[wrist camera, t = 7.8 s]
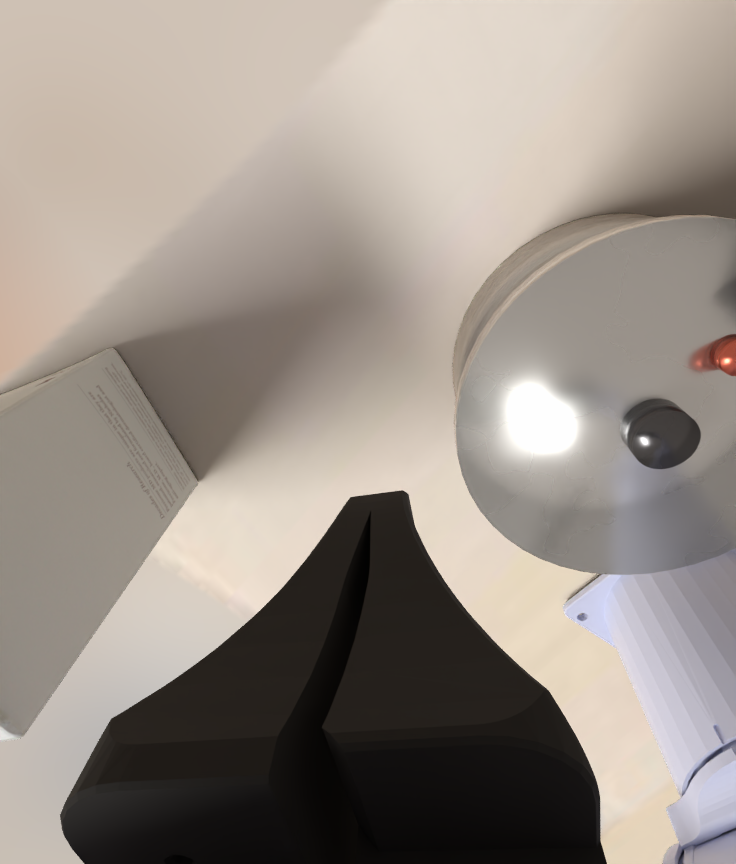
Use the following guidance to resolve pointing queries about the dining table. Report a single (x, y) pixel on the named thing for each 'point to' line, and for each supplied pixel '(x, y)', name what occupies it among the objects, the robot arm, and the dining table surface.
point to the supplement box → (74, 518)
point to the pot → (525, 275)
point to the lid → (611, 402)
